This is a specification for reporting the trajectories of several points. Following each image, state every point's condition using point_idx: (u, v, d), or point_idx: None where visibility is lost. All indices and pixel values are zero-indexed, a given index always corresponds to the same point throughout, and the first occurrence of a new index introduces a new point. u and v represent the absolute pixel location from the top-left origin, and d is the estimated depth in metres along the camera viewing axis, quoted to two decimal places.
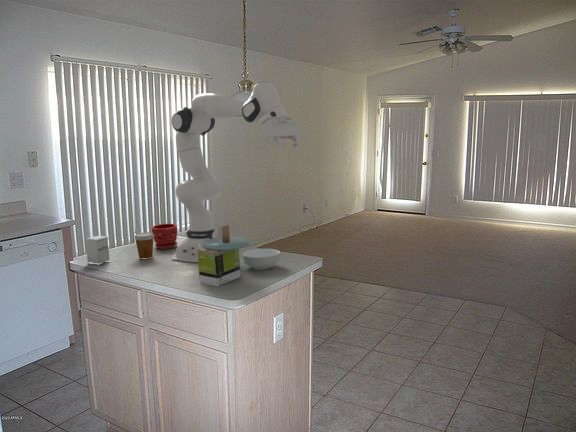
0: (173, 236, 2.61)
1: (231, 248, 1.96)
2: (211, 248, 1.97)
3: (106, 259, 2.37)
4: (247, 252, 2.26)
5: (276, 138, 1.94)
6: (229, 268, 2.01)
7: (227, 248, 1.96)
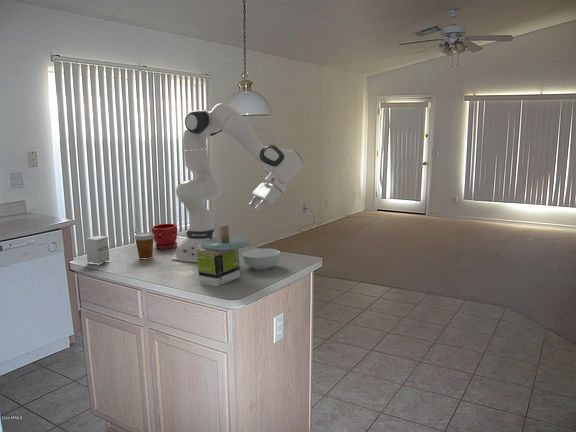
0: (173, 236, 2.61)
1: (231, 248, 1.96)
2: (210, 248, 1.96)
3: (106, 259, 2.37)
4: (247, 252, 2.26)
5: (265, 203, 2.02)
6: (228, 268, 2.01)
7: (227, 248, 1.95)
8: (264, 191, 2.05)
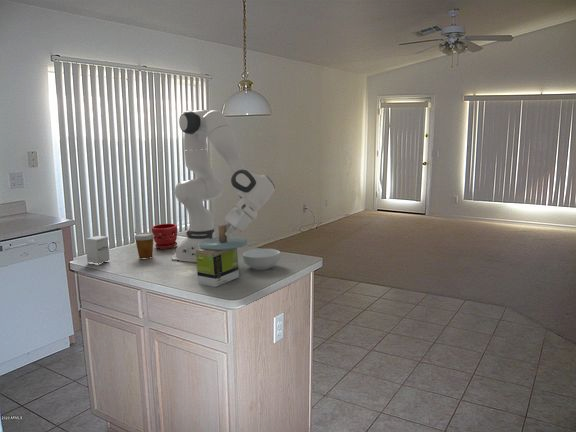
0: (173, 236, 2.61)
1: (228, 248, 1.96)
2: (208, 248, 1.96)
3: (106, 259, 2.37)
4: (247, 252, 2.26)
5: (234, 229, 2.01)
6: (227, 268, 2.01)
7: (224, 248, 1.95)
8: (235, 217, 2.02)
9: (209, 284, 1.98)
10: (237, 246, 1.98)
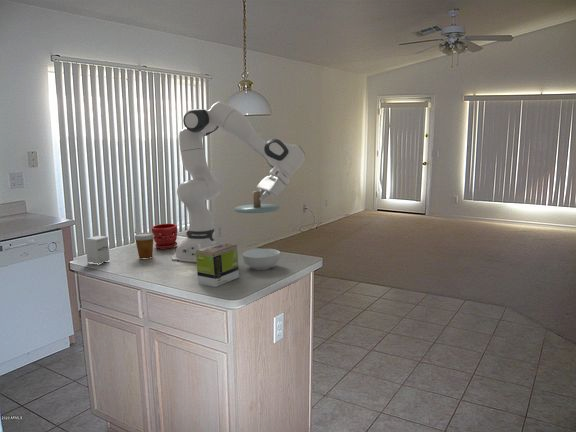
0: (173, 236, 2.61)
1: (264, 211, 2.08)
2: (245, 211, 2.09)
3: (106, 259, 2.37)
4: (247, 252, 2.26)
5: (267, 194, 2.14)
6: (227, 268, 2.01)
7: (260, 211, 2.08)
8: (269, 184, 2.15)
9: (209, 284, 1.98)
10: (271, 210, 2.10)
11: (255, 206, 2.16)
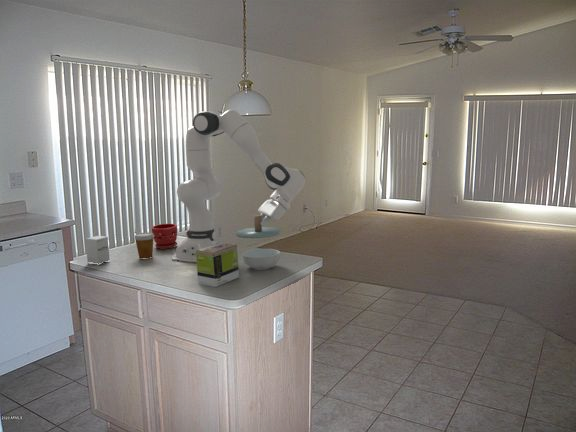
0: (173, 236, 2.61)
1: (265, 236, 2.10)
2: (246, 236, 2.11)
3: (106, 259, 2.37)
4: (247, 252, 2.26)
5: (268, 219, 2.16)
6: (227, 268, 2.01)
7: (261, 236, 2.10)
8: (269, 208, 2.17)
9: (209, 284, 1.98)
10: (272, 235, 2.12)
11: (256, 230, 2.18)
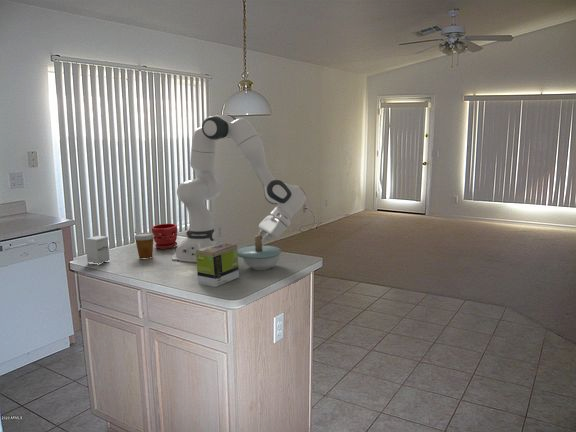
0: (173, 236, 2.61)
1: (265, 257, 2.12)
2: (247, 257, 2.12)
3: (106, 259, 2.37)
4: None
5: (269, 236, 2.16)
6: (227, 268, 2.01)
7: (262, 257, 2.11)
8: (270, 225, 2.18)
9: (209, 284, 1.98)
10: (273, 255, 2.14)
11: (257, 250, 2.19)
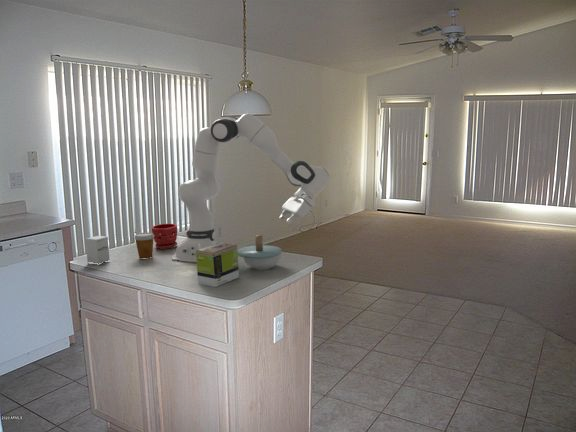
0: (173, 236, 2.61)
1: (265, 256, 2.12)
2: (247, 256, 2.13)
3: (106, 259, 2.37)
4: None
5: (295, 216, 2.17)
6: (227, 268, 2.01)
7: (262, 256, 2.12)
8: (294, 205, 2.21)
9: (209, 284, 1.98)
10: (273, 255, 2.14)
11: (257, 250, 2.20)
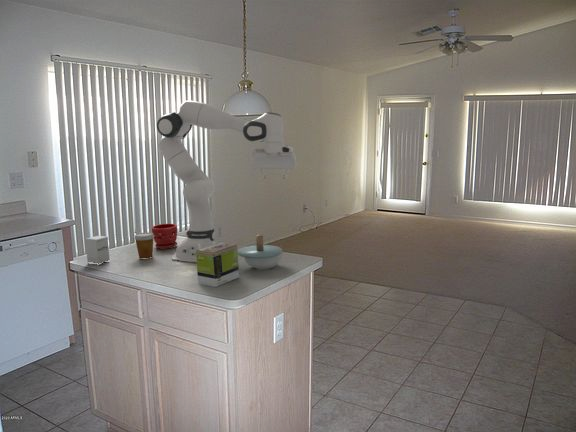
0: (173, 236, 2.61)
1: (266, 256, 2.12)
2: (247, 256, 2.13)
3: (106, 259, 2.37)
4: None
5: (288, 169, 2.24)
6: (227, 268, 2.01)
7: (262, 256, 2.12)
8: (279, 161, 2.22)
9: (209, 284, 1.98)
10: (274, 255, 2.14)
11: (258, 250, 2.20)
